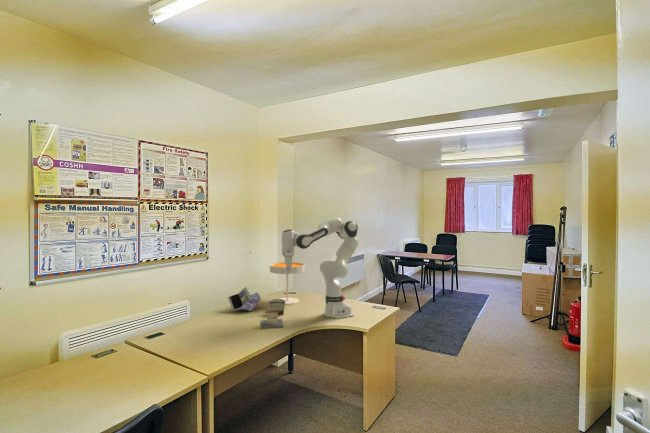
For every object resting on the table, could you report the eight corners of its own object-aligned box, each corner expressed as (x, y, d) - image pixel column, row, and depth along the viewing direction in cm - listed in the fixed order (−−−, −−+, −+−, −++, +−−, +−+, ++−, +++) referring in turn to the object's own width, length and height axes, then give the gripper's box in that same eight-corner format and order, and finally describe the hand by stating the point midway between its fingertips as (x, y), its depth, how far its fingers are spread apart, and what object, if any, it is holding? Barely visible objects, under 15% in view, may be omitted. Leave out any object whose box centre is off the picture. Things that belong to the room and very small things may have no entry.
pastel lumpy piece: (266, 300, 265) (255, 281, 266) (257, 306, 243) (245, 285, 245) (245, 312, 267) (235, 293, 268) (234, 320, 245) (223, 299, 247)
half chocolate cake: (287, 312, 249) (287, 299, 249) (285, 314, 243) (285, 301, 243) (271, 311, 250) (271, 298, 250) (268, 314, 244) (268, 300, 244)
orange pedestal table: (292, 295, 300) (292, 260, 300) (311, 302, 278) (312, 264, 277) (263, 300, 282) (263, 264, 281) (281, 308, 259) (281, 268, 258)
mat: (281, 320, 230) (281, 319, 230) (283, 327, 216) (283, 325, 216) (261, 321, 228) (261, 320, 228) (261, 328, 214) (261, 327, 214)
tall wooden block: (265, 322, 223) (265, 308, 223) (278, 321, 225) (278, 308, 225) (265, 324, 219) (265, 310, 219) (279, 323, 220) (279, 310, 220)
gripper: (282, 250, 248) (282, 268, 249) (284, 254, 228) (284, 274, 229) (291, 250, 250) (291, 268, 250) (293, 253, 229) (293, 273, 230)
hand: (288, 271), depth 239 cm, fingers open, 8 cm apart
